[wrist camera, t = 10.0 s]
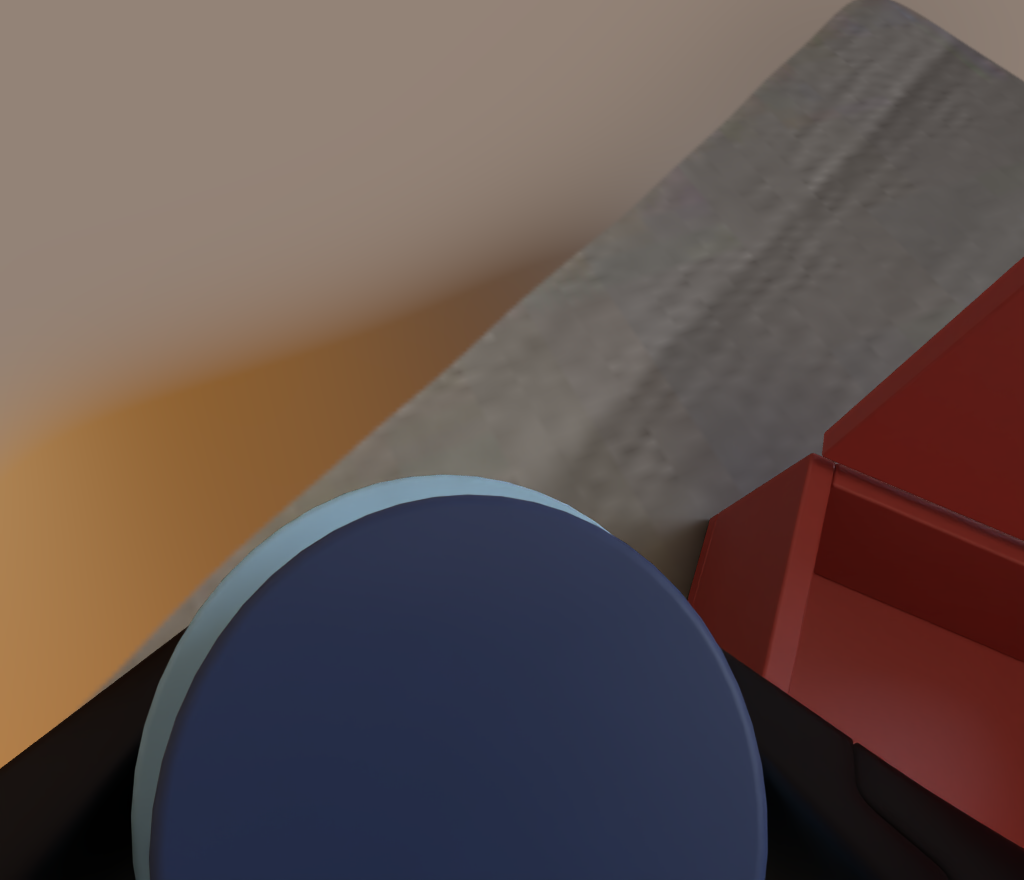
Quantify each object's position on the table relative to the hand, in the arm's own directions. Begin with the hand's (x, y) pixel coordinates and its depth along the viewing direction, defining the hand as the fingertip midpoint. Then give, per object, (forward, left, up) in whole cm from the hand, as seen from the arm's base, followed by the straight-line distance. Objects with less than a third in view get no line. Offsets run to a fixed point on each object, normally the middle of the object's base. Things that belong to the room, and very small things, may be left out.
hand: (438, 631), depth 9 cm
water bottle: (-1, -1, -6) cm, 6 cm away
